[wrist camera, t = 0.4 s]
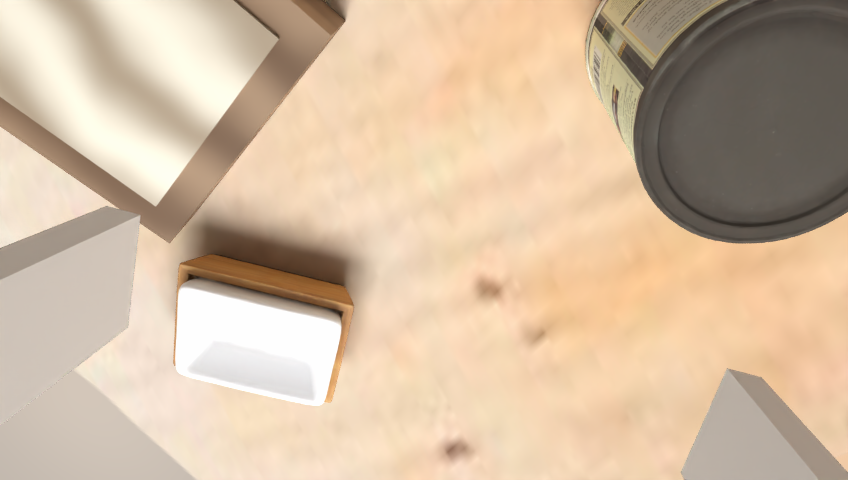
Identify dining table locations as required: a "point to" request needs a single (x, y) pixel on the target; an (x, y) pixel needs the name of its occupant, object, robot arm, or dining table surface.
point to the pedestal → (152, 90)
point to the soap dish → (260, 329)
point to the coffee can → (730, 109)
